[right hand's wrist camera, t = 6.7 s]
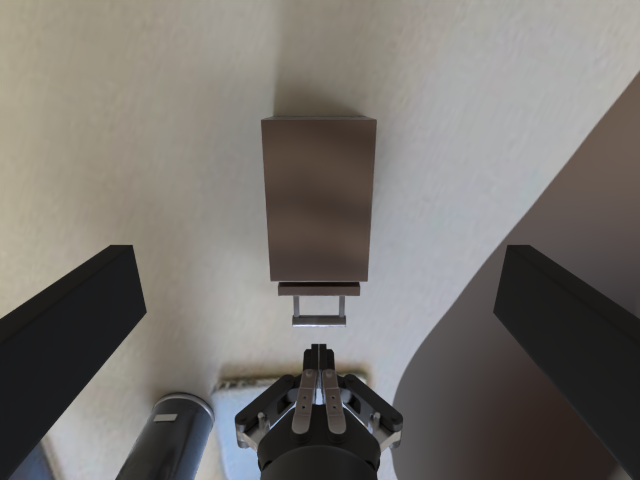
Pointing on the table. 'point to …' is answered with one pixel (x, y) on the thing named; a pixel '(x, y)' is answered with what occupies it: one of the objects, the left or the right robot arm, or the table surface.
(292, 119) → the cabinet
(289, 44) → the table surface
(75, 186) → the table surface
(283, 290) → the drawer
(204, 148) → the table surface
